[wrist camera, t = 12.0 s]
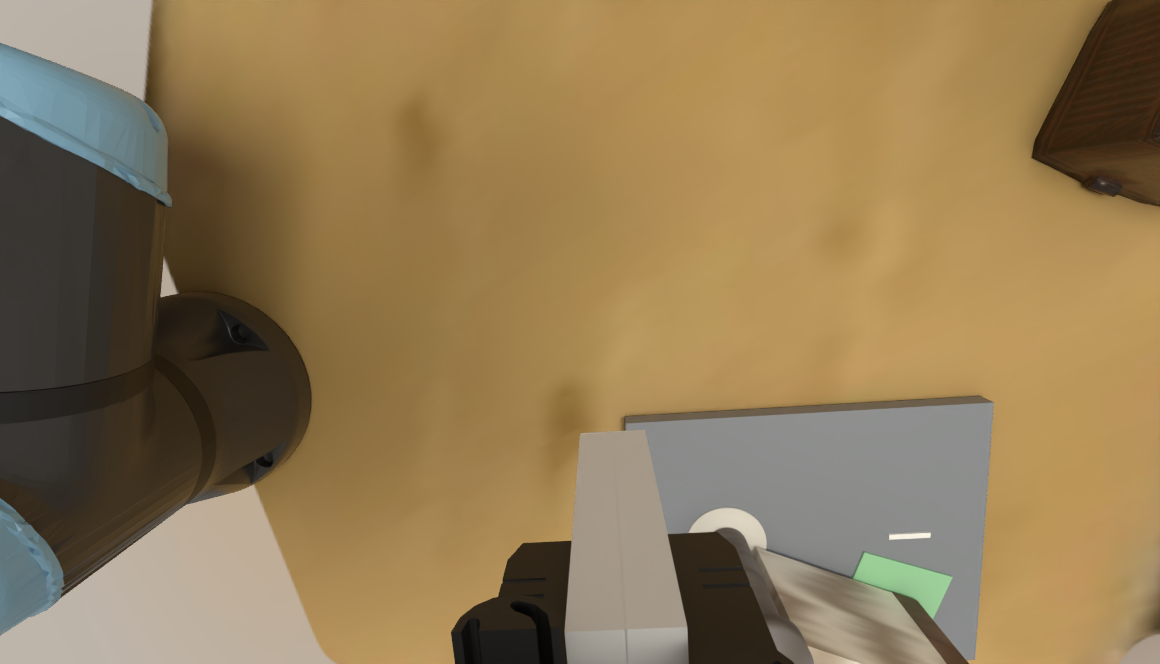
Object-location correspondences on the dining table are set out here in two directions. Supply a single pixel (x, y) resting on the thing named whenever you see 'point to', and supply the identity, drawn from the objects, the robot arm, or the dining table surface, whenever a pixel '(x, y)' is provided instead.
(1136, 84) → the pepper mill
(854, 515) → the dial plate
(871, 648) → the wooden panel with post
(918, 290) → the dining table surface
